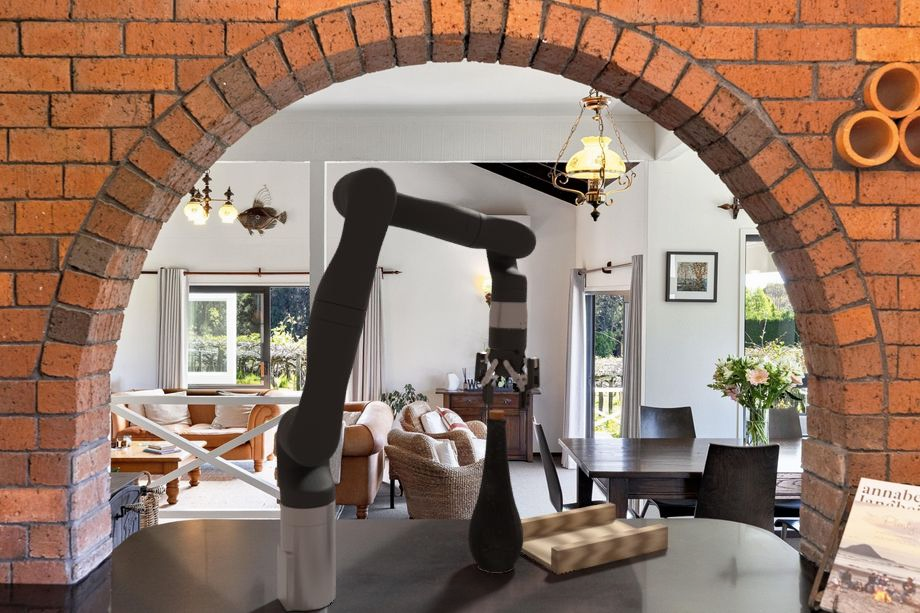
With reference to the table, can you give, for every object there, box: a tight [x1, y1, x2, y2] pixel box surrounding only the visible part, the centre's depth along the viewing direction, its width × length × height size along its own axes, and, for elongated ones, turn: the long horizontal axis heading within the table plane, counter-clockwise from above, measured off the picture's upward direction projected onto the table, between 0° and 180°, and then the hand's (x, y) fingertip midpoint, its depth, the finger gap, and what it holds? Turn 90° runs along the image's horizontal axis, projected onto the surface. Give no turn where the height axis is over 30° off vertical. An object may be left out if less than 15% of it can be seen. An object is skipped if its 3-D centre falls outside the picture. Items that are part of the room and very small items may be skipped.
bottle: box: [467, 409, 523, 572], centre depth 140 cm, size 11×11×30 cm
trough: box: [520, 502, 669, 575], centre depth 151 cm, size 28×18×4 cm, turn 119°
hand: (505, 407), depth 144 cm, fingers open, 8 cm apart
